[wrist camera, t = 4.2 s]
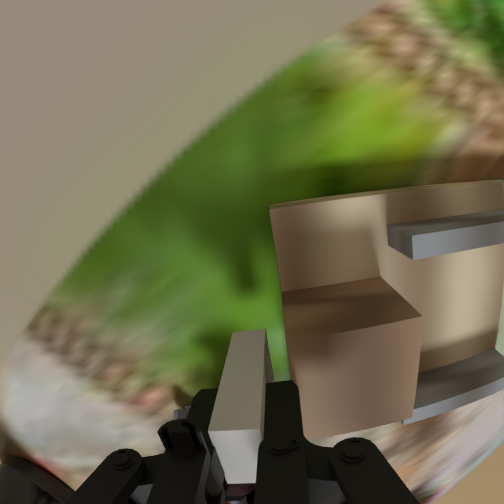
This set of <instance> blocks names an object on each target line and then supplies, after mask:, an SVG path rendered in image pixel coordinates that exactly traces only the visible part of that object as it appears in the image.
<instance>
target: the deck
mask: <svg viewBox="0 0 504 504" xmlns="http://www.w3.org/2000/svg"><path fill="white" fill-rule="evenodd" d="M269 212H270V218H271V225H272V232H273V238H274V245H275V252H276V258H277V265H278V272H279V279H280V286H281V292H285V291H292V290H299V289H306V288H313V287H319V286H326V285H332V284H338V283H344V282H351V281H357V280H363V279H369V278H374V277H380V276H381V277H382V278H383V279H384V280H385V281H386V282H387V283H388V284H389V285H390V286H392V287H393V288H394V289H395V290H396V291H397V292H398V293H399V294H400V295H401V296H402V297H403V298H404V299H405V300H406V301H407V302H408V303H410V304H411V305H412V306H413V307H414V308H415V309H416V310H417V311H418V312H419V313H420V314H421V315H422V335H421V349H420V360H419V370H418V379H417V387H416V395H415V402H414V408H413V415H412V418H409V419H405V420H402V421H401V422H402V424H403V425H406V424H409V423H413V422H416V421H419V420H423V419H426V418H429V417H432V416H435V415H438V414H441V413H444V412H447V411H450V410H453V409H456V408H459V407H461V406H464V405H467V404H469V403H472V402H474V401H477V400H479V399H482V398H484V397H487V396H489V395H491V394H494V393H496V392H498V391H500V390H503V389H504V179H494V180H480V181H467V182H455V183H443V184H432V185H422V186H412V187H402V188H393V189H384V190H375V191H366V192H358V193H350V194H342V195H334V196H326V197H319V198H311V199H304V200H297V201H290V202H283V203H276V204H269Z"/></svg>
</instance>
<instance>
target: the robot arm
mask: <svg viewBox="0 0 504 504" xmlns="http://www.w3.org/2000/svg"><path fill="white" fill-rule="evenodd" d="M158 434H159V437H160V439H161V441H162V443H163V445H164V447H165V449H166V451H165V453H163V454H159V455H154V456H148V457H141V455H140V454H139V452H137V451H135V450H133V449H127V448H126V449H119V450H117V451H114V452H112V453H111V454H110V455H109V456H107V457H106V459H105V460H104V461H103V462H102V463H101V464H100V465H99V466H98V467H97V468H96V470H95V471H94V472H93V473H92V474H91V475H90V476H89V477H88V478H87V479H86V481H85V482H84V483H83V484H82V485H81V486H80V487H79V488H78V489H77V490H76V491H75V492H73V491H72V490H70V489H69V488H68V487H67V486H65V485H64V484H63V483H61V482H60V481H59V480H57V479H56V478H54V477H53V476H51V475H50V474H48V473H47V472H45V471H44V470H42V469H41V468H39V467H37V466H36V465H34V464H32V463H30V462H28V461H26V460H24V459H21V458H19V457H15V456H7V457H6V458H5V459H4V460H3V461H2V463H1V464H0V504H225V497H226V495H225V490H224V487H223V481H224V476H225V478H226V481H227V483H228V484H240V483H256V485H255V498H254V504H419V502H418V501H417V500H416V498H415V497H414V496H413V494H412V493H411V492H410V491H409V489H408V488H407V487H406V485H405V484H404V483H403V481H402V480H401V479H400V477H399V476H398V475H397V473H396V472H395V471H394V469H393V468H392V467H391V465H390V464H389V463H388V461H387V460H386V459H385V457H384V456H383V455H382V453H381V452H380V451H379V449H378V448H377V447H376V445H375V444H374V443H372V442H371V441H370V440H367V439H364V438H357V437H353V438H348V439H344V440H342V441H340V442H338V443H337V444H336V445H335V446H334V447H333V448H332V447H322V446H317V445H315V444H312V443H311V442H309V441H308V440H307V439H306V438H305V436H304V433H303V423H302V413H301V404H300V396H299V388H298V386H297V385H296V384H295V383H294V382H293V381H292V380H289V381H281V382H273V371H272V365H271V359H270V353H269V347H268V341H267V335H266V330H265V329H257V330H249V331H240V332H233V333H232V337H231V341H230V345H229V349H228V353H227V357H226V361H225V365H224V369H223V373H222V377H221V381H220V385H219V388H214V389H201V390H200V391H199V392H198V393H197V394H196V395H195V396H194V398H193V401H192V404H191V408H190V409H189V412H188V415H187V418H186V419H175V420H172V421H169V422H167V423H166V424H164V425H163V426H161V427H160V429H159V430H158Z"/></svg>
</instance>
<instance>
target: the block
mask: <svg viewBox="0 0 504 504" xmlns="http://www.w3.org/2000/svg"><path fill="white" fill-rule="evenodd" d="M281 293H282V304H283V314H284V325H285V335H286V345H287V352H288V360H289V367H290V375H291V380H292V381H293V382H294V383H295V384H296V385H297V386H298V388H299V396H300V404H301V413H302V423H303V433H304V436H305V438H306V439H314V438H321V437H327V436H333V435H339V434H344V433H350V432H355V431H360V430H364V429H369V428H373V427H378V426H382V425H386V424H390V423H394V422H398V421H402V420H405V419H409V418H412V415H413V408H414V402H415V395H416V387H417V379H418V370H419V360H420V349H421V335H422V315H421V314H420V313H419V312H418V311H417V310H416V309H415V308H414V307H413V306H412V305H411V304H410V303H408V302H407V301H406V300H405V299H404V298H403V297H402V296H401V295H400V294H399V293H398V292H397V291H396V290H395V289H394V288H393V287H392V286H390V285H389V284H388V283H387V282H386V281H385V280H384V279H383V278H382V277H381V276H380V277H374V278H369V279H363V280H357V281H351V282H344V283H338V284H332V285H326V286H319V287H313V288H306V289H299V290H292V291H285V292H281Z"/></svg>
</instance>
